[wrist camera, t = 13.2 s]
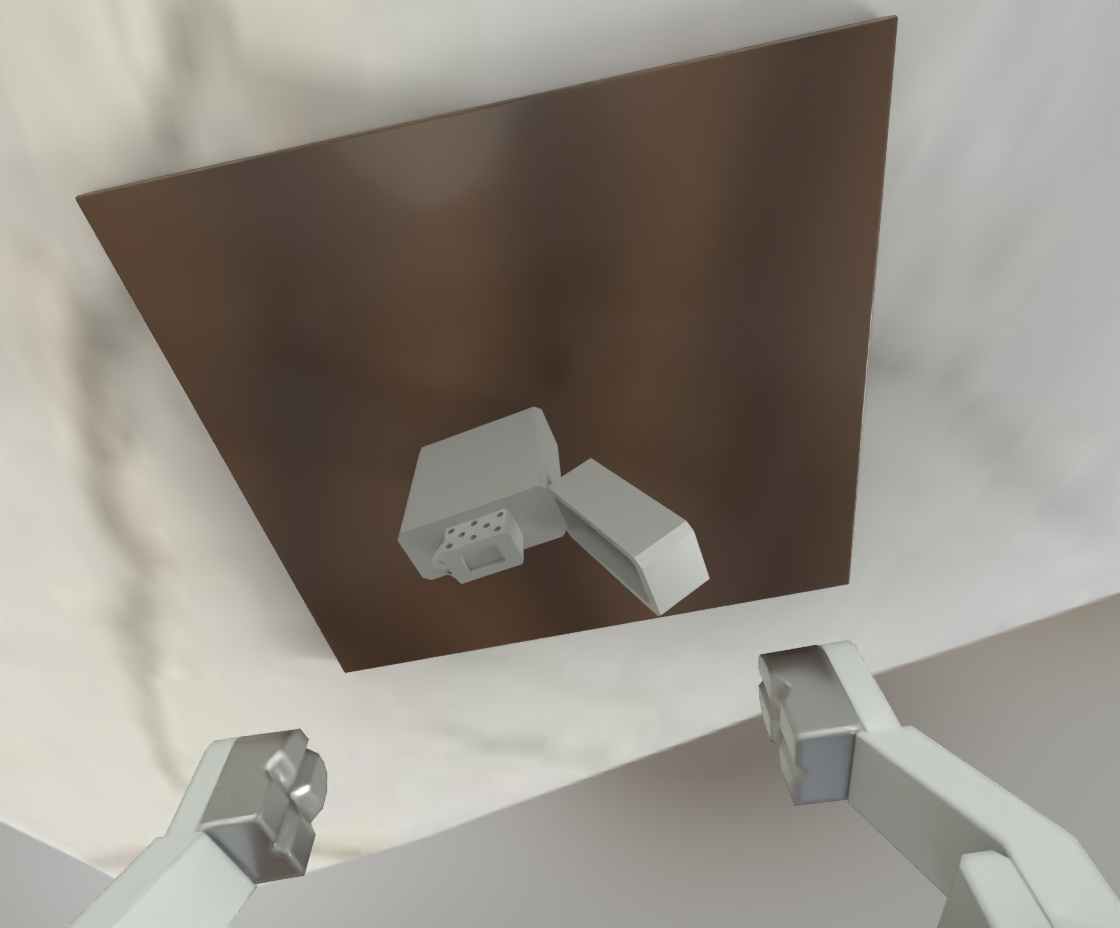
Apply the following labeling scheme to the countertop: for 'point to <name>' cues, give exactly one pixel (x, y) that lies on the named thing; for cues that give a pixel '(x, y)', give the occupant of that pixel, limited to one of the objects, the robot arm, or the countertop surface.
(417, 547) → the lighter
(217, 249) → the walnut board
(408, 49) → the countertop surface
